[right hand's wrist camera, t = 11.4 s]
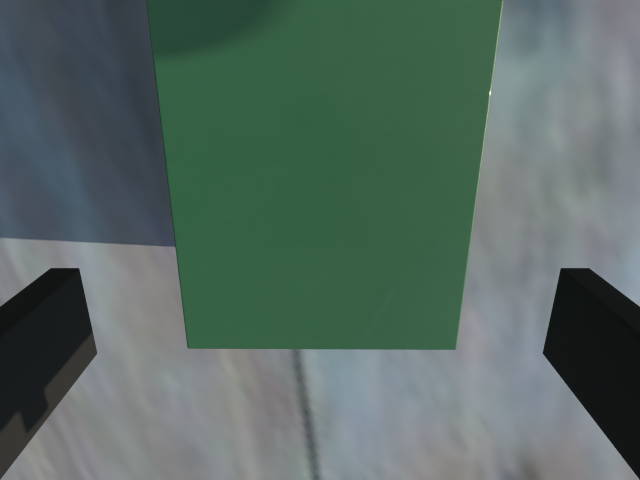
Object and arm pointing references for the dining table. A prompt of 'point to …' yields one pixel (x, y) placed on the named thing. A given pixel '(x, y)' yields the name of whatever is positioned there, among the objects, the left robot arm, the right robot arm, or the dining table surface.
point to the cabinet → (323, 166)
